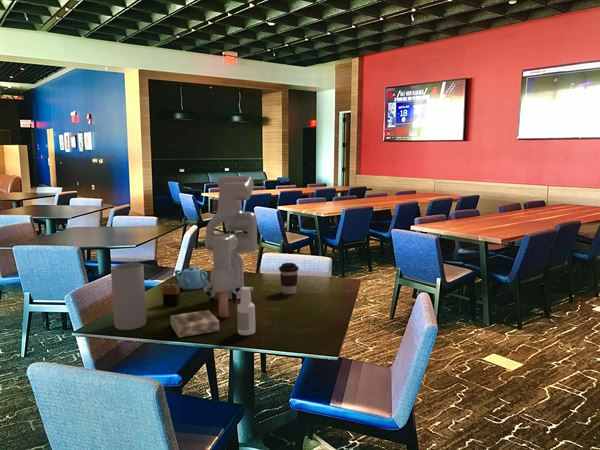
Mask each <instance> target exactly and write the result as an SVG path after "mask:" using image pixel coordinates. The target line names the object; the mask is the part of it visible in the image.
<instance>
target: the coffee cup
mask: <svg viewBox="0 0 600 450" xmlns="http://www.w3.org/2000/svg"><path fill="white" fill-rule="evenodd" d="M278 270H279V272H280V273H279V277H280V285H281V293H282V294H283V295H293V294H296V293H297V285H298V271H299V266H298V265H296V263H294V262H284V263H282V264H281V265H280V266H279V267H278Z"/></svg>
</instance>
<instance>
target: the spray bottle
mask: <svg viewBox="0 0 600 450" xmlns="http://www.w3.org/2000/svg"><path fill="white" fill-rule="evenodd" d="M255 309H256V305H255V304H254V303H253V302H252V295H251V291H250V288H249V286H245V287H242V288H241V298H240V303H238V304H237V306H236V310H237V311H236V312H237V313H236V314H237V333H238V335H240V336H250V335H251V336H252V335H254V334H255V333H256V310H255Z"/></svg>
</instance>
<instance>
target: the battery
mask: <svg viewBox="0 0 600 450" xmlns="http://www.w3.org/2000/svg"><path fill="white" fill-rule="evenodd" d="M180 293H181V292H180V286H179V285H178V283H172V284H169V283H165V285H164V286H162V302H163V303H162V305H163V306H166V307H168V306H169V307H177V306H178V305H180V304H181V300H180V299H181V297H180V296H181V294H180Z"/></svg>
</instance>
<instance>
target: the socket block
mask: <svg viewBox="0 0 600 450" xmlns="http://www.w3.org/2000/svg"><path fill="white" fill-rule="evenodd" d="M170 326H171V327H172V329H173V330H174V333H175V334H176V335H177V336H178V338H184V337H189V336H195V335H196V336H197V335H202V334H206V333H207V334H208V333H214V332H219V331H220V320H219V319H218V318H217V317H216V316H215V315H214V314H213V313H212V312H211V311H210V310H209V309H207V310H200V311H199V310H198V311H193V312H185V313H180V314H174V315H173V314H172V315H170Z"/></svg>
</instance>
